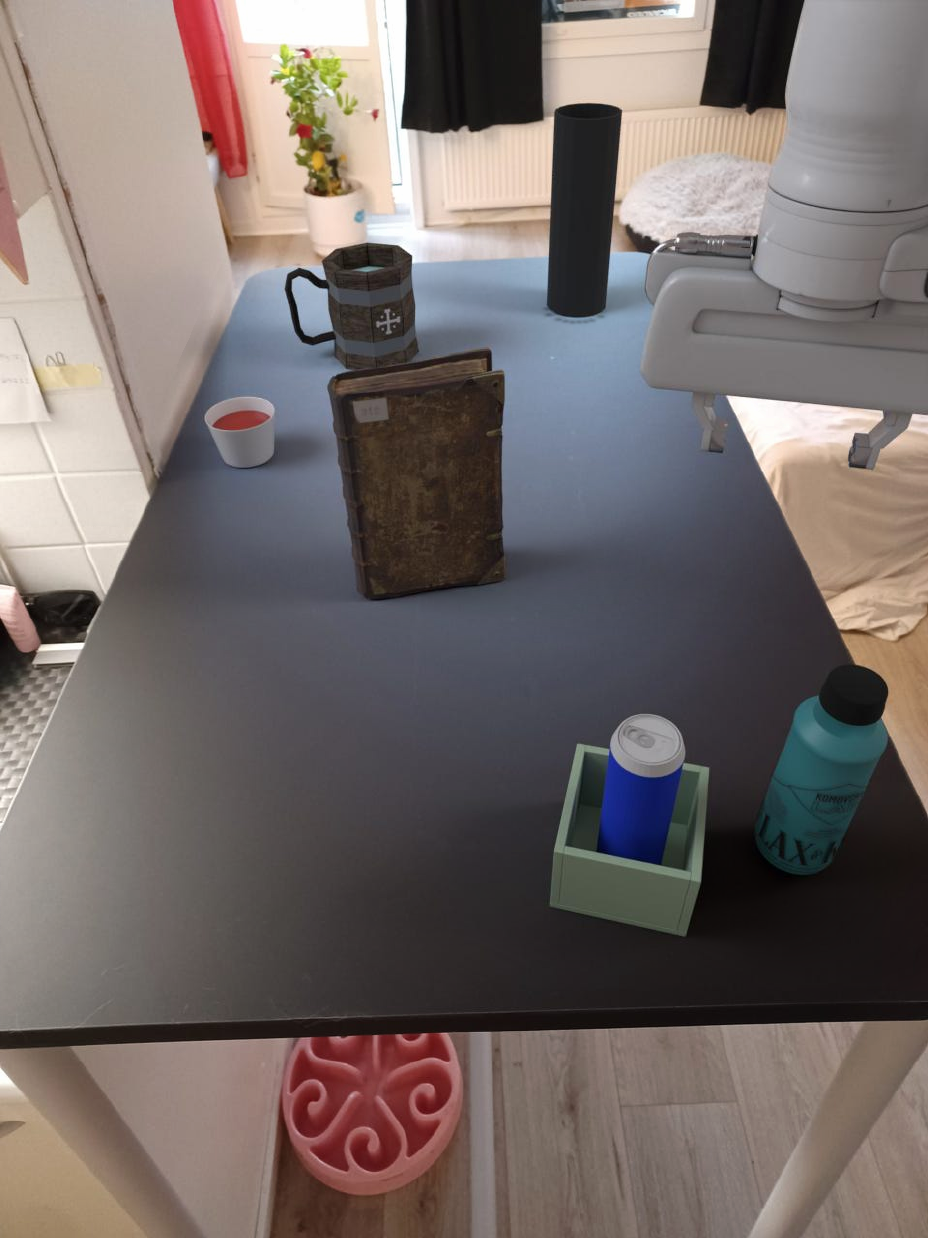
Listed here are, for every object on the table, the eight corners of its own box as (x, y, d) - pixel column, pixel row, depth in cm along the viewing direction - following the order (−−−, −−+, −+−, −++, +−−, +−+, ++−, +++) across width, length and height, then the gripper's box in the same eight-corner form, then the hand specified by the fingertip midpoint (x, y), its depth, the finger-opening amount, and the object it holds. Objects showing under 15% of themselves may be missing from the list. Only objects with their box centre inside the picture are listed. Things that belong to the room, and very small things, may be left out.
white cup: (201, 465, 118) (190, 422, 114) (241, 432, 124) (232, 391, 120) (257, 479, 115) (248, 436, 111) (295, 445, 121) (287, 403, 117)
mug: (416, 332, 147) (410, 239, 137) (420, 369, 137) (414, 272, 127) (298, 339, 146) (283, 246, 136) (293, 377, 136) (277, 280, 126)
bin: (695, 824, 74) (709, 767, 69) (685, 937, 67) (701, 882, 62) (571, 800, 76) (577, 743, 71) (549, 907, 69) (553, 851, 64)
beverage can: (671, 852, 72) (699, 729, 62) (643, 901, 68) (668, 780, 58) (613, 823, 74) (631, 700, 64) (584, 869, 71) (598, 747, 61)
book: (356, 603, 96) (327, 393, 80) (352, 563, 102) (324, 359, 85) (507, 585, 98) (509, 376, 81) (496, 547, 103) (495, 343, 87)
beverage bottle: (732, 834, 73) (785, 662, 60) (799, 809, 75) (866, 637, 62) (779, 900, 69) (848, 730, 55) (850, 872, 70) (933, 701, 57)
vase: (577, 322, 149) (589, 122, 129) (534, 305, 154) (540, 111, 134) (618, 305, 153) (636, 110, 133) (575, 288, 159) (587, 99, 139)
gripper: (644, 248, 49) (621, 462, 59) (1048, 275, 45) (955, 501, 54) (656, 212, 54) (632, 416, 63) (1024, 233, 50) (941, 448, 59)
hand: (784, 456), depth 59 cm, fingers open, 8 cm apart
